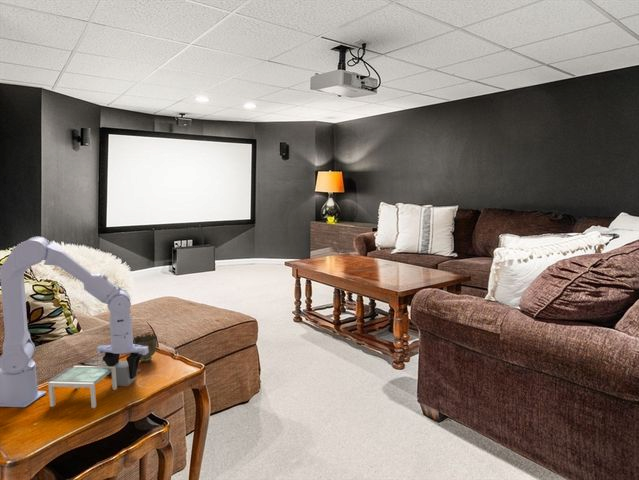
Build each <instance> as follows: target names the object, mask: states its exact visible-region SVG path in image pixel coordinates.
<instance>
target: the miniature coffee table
mask: <svg viewBox="0 0 639 480" xmlns="http://www.w3.org/2000/svg"><path fill="white" fill-rule="evenodd" d="M73 367H75V368H109V369H111V373H112V374H111V373H110V374H111V384H112V391H113V390H114V391H115V390H117V389H118V386H117V381H116V367H110V366H94V365H74V366H72V368H73ZM47 384H48V394H49V404H50V407H55V406H56V396H55V395H56V394H55V388H56V387H58V388H74V389H75V390H76V389H80V388H84V389H85V388H87V389H88V388H89V392H90V403H91V404H90V405H91V408H92V409H95V408H96V407H97V399H96V398H97V397H96V396H97V395H96V384H95V383H90V382H54V381H50V382H49V383H47Z"/></svg>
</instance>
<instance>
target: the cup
mask: <svg viewBox="0 0 639 480" xmlns="http://www.w3.org/2000/svg"><path fill="white" fill-rule="evenodd" d="M133 344H136V345H141V346H148V351H149V352H148V353H147V354H146V355H142V357H141V359H140V361H139V362H142V363H147V362H148V363H149V362H151V361H152V359H153V355H155V353H156V351H157V344H158V336H157V334H154V333H153V334H151V333H148V334H147V333H145V335H143V334H141V336H140V335H136V337H134V336H133Z"/></svg>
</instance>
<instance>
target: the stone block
mask: <svg viewBox="0 0 639 480" xmlns="http://www.w3.org/2000/svg"><path fill="white" fill-rule="evenodd" d="M113 367H116V381H117V387H118V386H119V387H128V386H130V385H131V384H132V383H134V381H136V380H137V375H136V376H135V377H134V378H133V379H130V374H129V366H128V362H127V360H119V362H118V363H117V364H115V365H114V366H113Z"/></svg>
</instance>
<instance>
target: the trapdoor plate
mask: <svg viewBox="0 0 639 480" xmlns="http://www.w3.org/2000/svg"><path fill="white" fill-rule="evenodd" d="M110 374H111V369H109V368H75V367H73V366H72V367H67V368H65V369H64V370H63V371H61V372H59V373H57V374H56V375H54V376H52V377H51V378H50V379H48V380H47V382H48V383H49V382H50V381H54V382H90V383H95V385H96V384H97V383H99V382H100V381H102V380H103V379H104V378H106V377H107V376H108V375H110ZM48 383H47V384H48Z"/></svg>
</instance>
